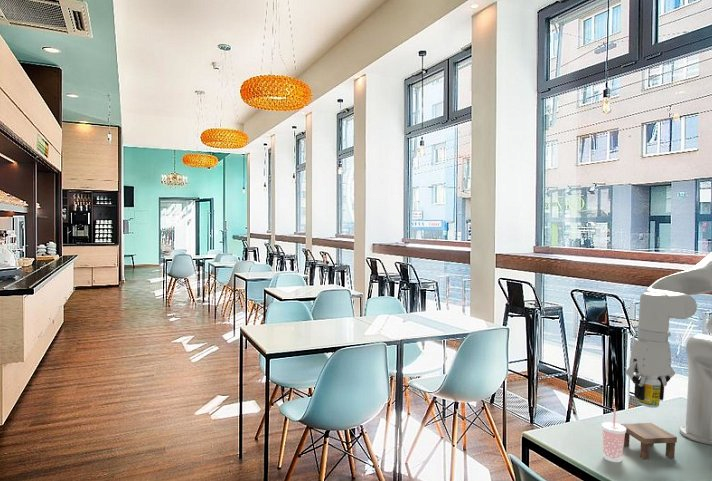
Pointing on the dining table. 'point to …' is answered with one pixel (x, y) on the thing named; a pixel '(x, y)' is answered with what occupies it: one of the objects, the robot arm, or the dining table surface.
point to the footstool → (650, 438)
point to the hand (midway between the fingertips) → (648, 397)
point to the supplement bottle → (651, 392)
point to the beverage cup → (613, 440)
